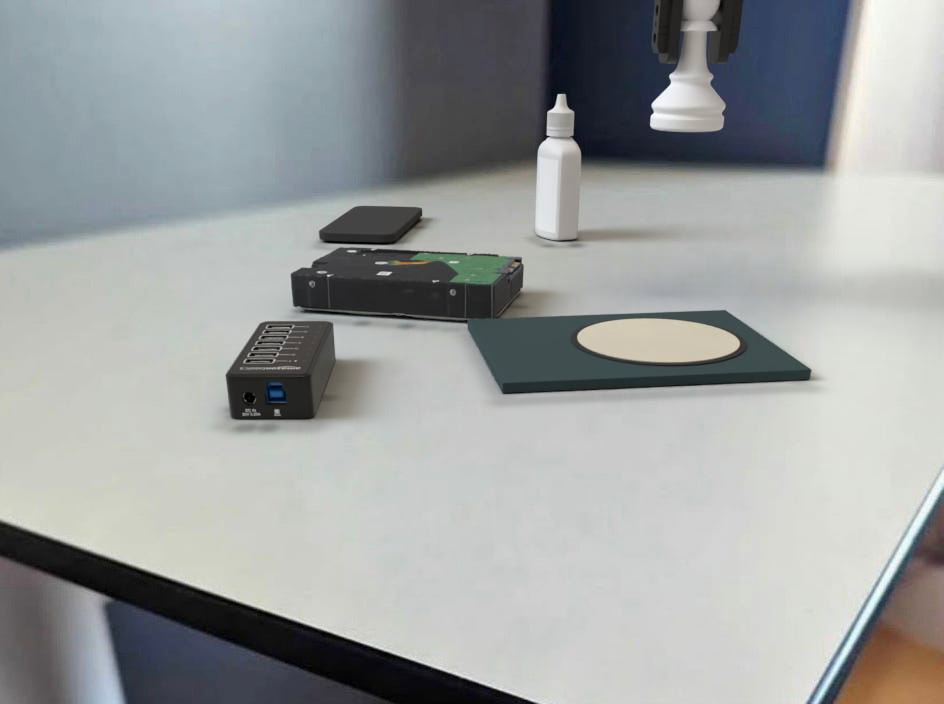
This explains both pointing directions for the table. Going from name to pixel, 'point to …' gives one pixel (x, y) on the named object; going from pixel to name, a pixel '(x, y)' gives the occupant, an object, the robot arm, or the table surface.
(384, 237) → the phone
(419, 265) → the disk drive
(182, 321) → the table surface
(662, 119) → the chess pawn
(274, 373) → the multiport hub
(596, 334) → the drawing mat
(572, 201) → the eye dropper bottle
